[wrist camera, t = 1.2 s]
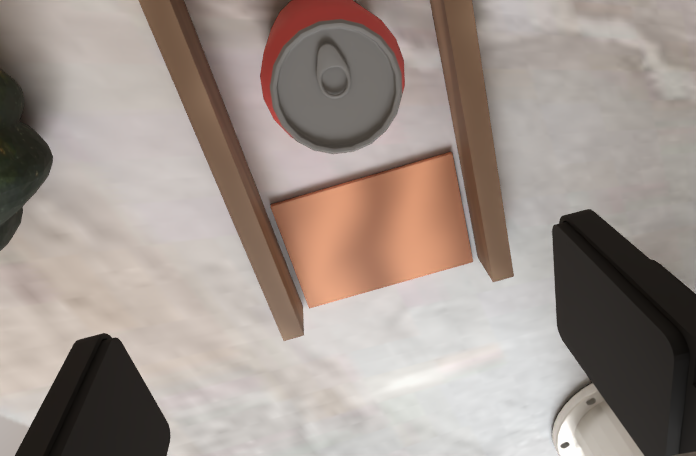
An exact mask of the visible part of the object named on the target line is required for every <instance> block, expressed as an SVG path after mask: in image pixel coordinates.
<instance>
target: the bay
mask: <svg viewBox="0 0 696 456" xmlns="http://www.w3.org/2000/svg"><path fill="white" fill-rule="evenodd" d="M139 2H140V5H141V7H142V9H143V12H144V14H145V16H146V19H147V21H148V23H149V26H150V28H151V30H152V33H153V35H154V37H155V40H156V42H157V45H158V47H159V49H160V52H161V54H162V56H163V59H164V61H165V63H166V66H167V68H168V70H169V73H170V75H171V77H172V80H173V82H174V84H175V87H176V89H177V91H178V94H179V96H180V98H181V101H182V103H183V106H184V108H185V110H186V113H187V115H188V117H189V120H190V122H191V124H192V127H193V129H194V131H195V134H196V136H197V138H198V141H199V143H200V145H201V148H202V150H203V152H204V155H205V157H206V160H207V162H208V164H209V167H210V169H211V171H212V174H213V176H214V178H215V181H216V183H217V185H218V188H219V190H220V192H221V195H222V197H223V199H224V202H225V204H226V206H227V209H228V211H229V214H230V216H231V218H232V221H233V223H234V225H235V228H236V230H237V232H238V235H239V237H240V239H241V242H242V244H243V246H244V249H245V251H246V253H247V256H248V258H249V260H250V263H251V265H252V267H253V270H254V272H255V275H256V277H257V279H258V282H259V284H260V286H261V289H262V291H263V293H264V296H265V298H266V300H267V303H268V305H269V307H270V310H271V312H272V314H273V317H274V319H275V321H276V324H277V326H278V329H279V331H280V333H281V336H282V338H283V340H284V341H286V340H289V339H293V338H296V337H300V336H303V335H304V326H303V306H302V303H301V301H300V298H299V296H298V293H297V290H296V288H295V285H294V283H293V280H292V278H291V275H290V272H289V270H288V267H287V265H286V262H285V260H284V257H283V254H282V252H281V249H280V247H279V244H278V242H277V239H276V236H275V234H274V231H273V229H272V226H271V224H270V221H269V218H268V216H267V213H266V211H265V208H264V206H263V203H262V200H261V198H260V195H259V193H258V190H257V188H256V185H255V182H254V180H253V177H252V175H251V172H250V170H249V167H248V164H247V162H246V159H245V157H244V154H243V152H242V149H241V146H240V144H239V141H238V139H237V136H236V134H235V131H234V128H233V126H232V123H231V121H230V118H229V116H228V113H227V110H226V108H225V105H224V103H223V100H222V98H221V95H220V92H219V90H218V87H217V85H216V82H215V80H214V77H213V74H212V72H211V69H210V67H209V64H208V62H207V59H206V56H205V54H204V51H203V49H202V46H201V44H200V41H199V38H198V36H197V33H196V31H195V28H194V26H193V23H192V20H191V18H190V15H189V13H188V10H187V8H186V5H185V2H184V0H139ZM430 3H431V8H432V14H433V19H434V25H435V30H436V35H437V41H438V46H439V51H440V57H441V62H442V67H443V73H444V78H445V84H446V89H447V94H448V100H449V105H450V110H451V116H452V121H453V127H454V132H455V137H456V143H457V148H458V153H459V159H460V164H461V169H462V175H463V180H464V186H465V191H466V196H467V202H468V207H469V212H470V218H471V223H472V229H473V234H474V239H475V245H476V250H477V255H478V258H479V260H480V262H481V263H482V265H483V267H484V268H485V270H486V271H487V273H488V275H489V276H490V278H491V279H492V281H493V282H495V281H499V280H503V279H506V278H510V277H513V276H514V274H513V268H512V261H511V255H510V248H509V241H508V235H507V228H506V222H505V215H504V208H503V202H502V195H501V189H500V182H499V176H498V169H497V162H496V156H495V149H494V143H493V136H492V129H491V123H490V116H489V110H488V103H487V96H486V90H485V83H484V77H483V70H482V64H481V57H480V50H479V44H478V37H477V31H476V24H475V17H474V11H473V4H472V0H430ZM271 210H272V212H273V215H274V217H275V220H276V223H277V225H278V228H279V230H280V233H281V236H282V238H283V241H284V244H285V246H286V249H287V251H288V254H289V257H290V259H291V262H292V264H293V267H294V270H295V272H296V275H297V278H298V280H299V283H300V285H301V288H302V291H303V293H304V296H305V298H306V301H307V304H308V306H309V308H312V307H316V306H319V305H323V304H326V303H330V302H333V301H337V300H340V299H344V298H347V297H351V296H354V295H358V294H362V293H365V292H369V291H372V290H376V289H379V288H383V287H386V286H390V285H393V284H397V283H400V282H404V281H407V280H411V279H414V278H418V277H422V276H425V275H429V274H432V273H436V272H439V271H443V270H446V269H450V268H453V267H457V266H460V265H464V264H467V263H471V262H473V259H472V253H471V248H470V243H469V238H468V233H467V227H466V222H465V217H464V212H463V207H462V201H461V196H460V191H459V186H458V181H457V175H456V170H455V165H454V160H453V155H452V153H451V152H448V153H445V154H441V155H438V156H435V157H431V158H428V159H424V160H421V161H418V162H414V163H411V164H407V165H404V166H401V167H397V168H394V169H390V170H387V171H383V172H380V173H377V174H373V175H370V176H366V177H363V178H360V179H356V180H353V181H349V182H346V183H342V184H339V185H336V186H332V187H329V188H325V189H322V190H319V191H315V192H312V193H308V194H305V195H301V196H298V197H295V198H291V199H288V200H284V201H281V202H278V203H274V204H271Z"/></svg>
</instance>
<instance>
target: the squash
mask: <svg viewBox="0 0 696 456" xmlns="http://www.w3.org/2000/svg"><path fill="white" fill-rule="evenodd" d="M23 109H24V97H23V92H22V90H21V88H20V86H19V85H18V84H17V83H16V81H15V80H14V79H13V78H11V77H10V76H9V75H7V74H6V73H5V72H4V71H2V70H1V69H0V251H1V250H2V249H3V248H4V247H5V246H6V245H7V244H8V243H9V241H10V240H11V238H12V237H13V235H14V234H15V232H16V230H17V228H18V227H19V225H20V223H21V218H22V213H23V208H22V207H23V205H24V204H25V203H26V202H27V201H28V200H29V199H30V198H31V197H32V196H33V195H34V194H35V193H36V191H37V190H38V189H39V187H40V186H41V185H42V184H43V182H44V181H45V180H46V178H47V177H48V175H49V172H50V169H51V166H52V163H53V156H52V153H51V150H50V148H49V146H48V144H47V143H46V142H45V141H44V140H43V139H42V138H41V137H40V135H39V134H38V133H37V132H36V131H35V130H34V129H32V128H31V127H29V126H28V125H26V124H24V123H21V122H19V120H20V117H21V115H22V112H23Z"/></svg>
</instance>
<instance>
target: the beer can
mask: <svg viewBox="0 0 696 456" xmlns="http://www.w3.org/2000/svg"><path fill="white" fill-rule="evenodd" d="M260 78H261V85H262V91H263V97H264V100H265V102H266V104H267V106H268V108H269V110H270V112H271V114H272V116H273V118H274V120H275V121H276V122H277V123H278V124H279V125H280V126H281V127H282V128H283V129H284V130H285V131H286V132H287V133H288V134H289V135H290V136H291V137H292V138H294V139H295V140H296V141H297V142H299V143H301V144H303V145H305V146H307V147H308V148H310V149H312V150H314V151H320V152H325V153H330V154H338V153H347V152H354V151H356V150H358V149H360V148H363V147H365V146H367V145H370V144H371V143H373V142H374V141H375V140H376V139H377V138H378V137H380V136H381V135H382V134H383V133H384V132H385V131H386V130H387V129H388V127H389V126H390V124H391V122H392V121H393V119H394V118H395V116H396V115H397V112H398V108H399V105H400V101H401V97H402V93H403V90H404V85H405V79H404V60H403V57H402V54H401V52H400V49H399V46H398V43H397V40H396V38H395V37H394V36H393V34H392V33H391V32H390V31H389V29H388V28H387V27H386V26H385V24H384V23H383V22H382V20H380V19H379V18H377V17H376V16H375V15H373V14H372V13H370V12H369V11H367V10H366V9H365V8H363V7H362V6H360V5H359V4H357V3H356V2H354V1H353V0H292V1H290V2H289V3H288V4H287V5H286V6H285V7H284V8H283V9H282V10H281V11H280V12H279V14H278V16H277V18H276V20H275V22H274V24H273V26H272V28H271V31H270V34H269V37H268V41H267V44H266V47H265V50H264V54H263V61H262V67H261V74H260Z"/></svg>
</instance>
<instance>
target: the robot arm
mask: <svg viewBox="0 0 696 456" xmlns="http://www.w3.org/2000/svg"><path fill="white" fill-rule="evenodd" d="M552 236H553V255H554V275H555V295H556V314H557V327H558V331H559V334H560V336H561V338H562V340H563V342H564V343H565V345H566V346H567V347H568V349H569V350H570V352H571V353H572V355H573V356H574V357H575V359H576V360H577V362H578V363H579V364H580V366H581V367H582V369H583V370H584V371H585V373H586V374H587V376H588V377H589V379H590V380H591V381H592V383H591V384H590V385H588V386H586V387H585V388H583V389H582V390H581V391H579V392H578V393H577V394H575V395H574V396H573V397H572V398H571V399H570V400H569V401H568V402H567V403H566V404H565V406H564V407H563V408H562V410H561V411H560V413H559V414H558V416H557V418H556V421H555V423H554V427H553V432H552V437H553V444H554V446H555V449H556V451H557V453H558V455H559V456H696V294H695V293H694V292H693V291H691V290H690V289H689V288H688V287H687V286H685V285H684V284H683V283H682V282H681V281H680V280H678V279H677V278H676V277H675V276H674V275H672V274H671V273H670V272H669V271H668V270H666V269H665V268H664V267H663V266H662V265H661V264H659V263H657V262H656V261H654V260H650V259H649V258H648V257H647V256H645V255H644V254H643V253H642V252H641V251H640V250H638V249H637V248H636V247H635V246H634V245H633V244H631V243H630V242H629V241H628V240H627V239H626V238H624V237H623V236H622V235H621V234H620V233H619V232H617V231H616V230H615V229H614V228H613V227H611V226H610V225H609V224H608V223H607V222H606V221H604V220H603V219H602V218H601V217H600V216H599V215H597V214H596V213H595V212H594V211H592V210H591V209H587V210H583V211H579V212H576V213H572V214H568V215H564V216H562V217H561V218H560V221H559V224H557V225H554V226H553V229H552ZM169 443H170V428H169V425H168V423H167V421H166V419H165V417H164V415H163V414H162V412H161V410H160V408H159V407H158V405H157V403H156V401H155V400H154V398H153V396H152V394H151V393H150V391H149V389H148V387H147V386H146V384H145V382H144V380H143V379H142V377H141V375H140V374H139V372H138V370H137V368H136V367H135V365H134V363H133V361H132V360H131V358H130V356H129V354H128V353H127V351H126V349H125V347H124V346H123V344H122V342H121V341H120V340H119V339H118V338H112V337H111V336H110V335H108V334H105V333H103V334H99V335H95V336H91V337H87V338H84V339H80V340H77V341H76V342H75V343H74V345H73V347H72V349H71V350H70V352H69V354H68V356H67V358H66V360H65V362H64V364H63V366H62V367H61V369H60V371H59V373H58V375H57V377H56V379H55V381H54V383H53V384H52V386H51V388H50V390H49V392H48V394H47V396H46V398H45V400H44V401H43V403H42V405H41V407H40V409H39V411H38V413H37V415H36V417H35V419H34V420H33V422H32V424H31V426H30V428H29V430H28V432H27V434H26V436H25V438H24V439H23V441H22V443H21V445H20V447H19V449H18V451H17V453H16V455H15V456H167V451H168V447H169Z"/></svg>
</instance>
